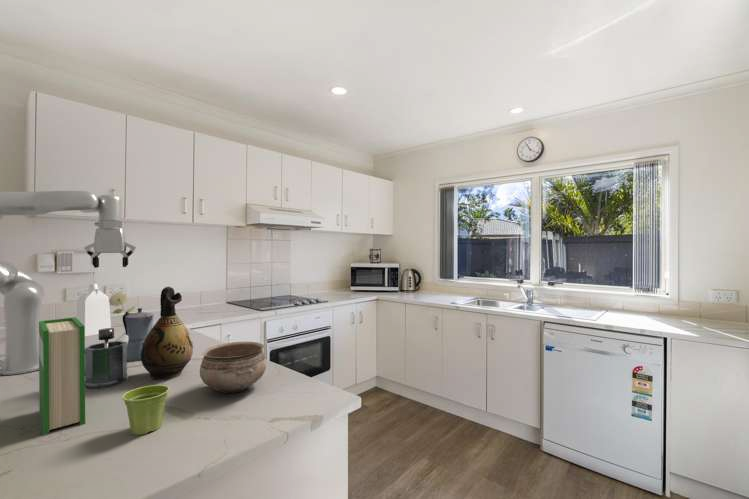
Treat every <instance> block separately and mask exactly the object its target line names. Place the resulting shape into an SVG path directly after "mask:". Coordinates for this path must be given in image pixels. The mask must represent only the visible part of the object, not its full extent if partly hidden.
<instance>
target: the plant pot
mask: <svg viewBox="0 0 749 499" xmlns="http://www.w3.org/2000/svg"><path fill="white" fill-rule="evenodd" d="M169 391H170V386H168V385H166V384H165V385H163V384H153V385H147V386H142V387H141V386H140V387H138V388H134V389H131V390H129V391H127V392H125V393H124V394H122V396H121V399H122V401H124V404H125V407H126V410H127V416H128V421H129V422H128V423H129V428H130V432H131V433H132V434H133V435H145V434H148V433H149V432H154V431H156V430H158V429H159V428H160V427H162V423H163V416H164V410H165V406H166V405H165V404H166V398H167V397H168V393H169Z"/></svg>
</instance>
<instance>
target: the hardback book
mask: <svg viewBox="0 0 749 499" xmlns="http://www.w3.org/2000/svg"><path fill="white" fill-rule="evenodd" d="M85 337H86V336H85V326H84V325H83V324H82V323H81V322H80V321H79V320H78V319H77V316H75V317H66V318H57V319H47V320H42V321H39V370H38V371H39V372H38V373H39V374H38V376H39V377H38V379H39V380H38V381H39V382H38V383H39V387H38V388H39V389H38V390H39V393H38V394H39V398H38V399H39V401H38V402H39V403H38V404H39V405H38V406H39V407H38V408H39V411H38V412H39V418H40V422H41V428H42V433H43V436H47V435H50V431H51V430H54V429H58V428H62V427H65V426H70V425H72V424H76V423H79V425H80V426H82V425H86V388H85V348H86V347H85V346H86V338H85Z"/></svg>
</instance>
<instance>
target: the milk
mask: <svg viewBox="0 0 749 499" xmlns="http://www.w3.org/2000/svg"><path fill="white" fill-rule="evenodd" d="M109 299H110V298H109V296H108V295H107V294H105V293H104V292H103V291H101V289H99V287H98V284H97V283H89V285H88V289H86V290H85V291H84V292H83V293H82V294H80V295H79V297H78V298H77V300H76V318H77V319H78V320H79V321H80V322H81V323H82V324H83V325H84V326H85V337H88V336H94V335H99V330H100V329H105V328H112V323H111V310H110V309H111V305H110V303H109Z"/></svg>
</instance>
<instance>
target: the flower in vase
mask: <svg viewBox="0 0 749 499" xmlns="http://www.w3.org/2000/svg"><path fill="white" fill-rule="evenodd" d="M128 300H129V294H128V292H125V291H124V290H123V291H122V290H121V291H116V292H115V293H113V294H112V295H111V296H110V298H109V305H110V306H114V307H119V306H121V307H122V308H116V309H115V310H114V311H113V312H112V314H117V315H119V314H121V313H122V312H123V311H124V313H126V312H128V313H132V311H134V310H135V305H134V306H132V307H129V308H128V309H127V310H125V309H124V305H123V304H125V303H126V302H127V301H128ZM128 340H129V339H128V335H126V332H125V331H124V332H123V333H122V334H121V335H120V336H119V337H117V338H116V339H115V341H122V342H127V344H128Z"/></svg>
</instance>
